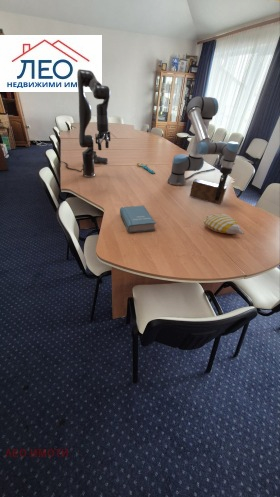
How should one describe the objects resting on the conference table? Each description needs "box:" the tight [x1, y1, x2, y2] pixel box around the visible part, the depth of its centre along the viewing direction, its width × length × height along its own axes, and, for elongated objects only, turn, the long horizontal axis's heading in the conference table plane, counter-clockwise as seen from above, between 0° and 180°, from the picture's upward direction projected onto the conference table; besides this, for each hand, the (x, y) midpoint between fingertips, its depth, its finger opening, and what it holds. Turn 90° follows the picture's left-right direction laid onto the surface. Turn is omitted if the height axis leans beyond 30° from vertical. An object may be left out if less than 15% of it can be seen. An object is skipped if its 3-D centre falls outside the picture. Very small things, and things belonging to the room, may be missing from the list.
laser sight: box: [93, 150, 108, 165], centre depth 230 cm, size 10×22×10 cm, turn 78°
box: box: [189, 178, 228, 205], centre depth 166 cm, size 24×6×12 cm, turn 60°
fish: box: [203, 213, 245, 235], centre depth 133 cm, size 25×8×20 cm
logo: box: [137, 162, 156, 175], centre depth 227 cm, size 34×10×1 cm, turn 16°
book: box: [119, 205, 156, 233], centre depth 136 cm, size 23×16×5 cm
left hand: (103, 149), depth 155 cm, fingers open, 8 cm apart
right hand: (217, 198), depth 165 cm, fingers closed on box, 6 cm apart
